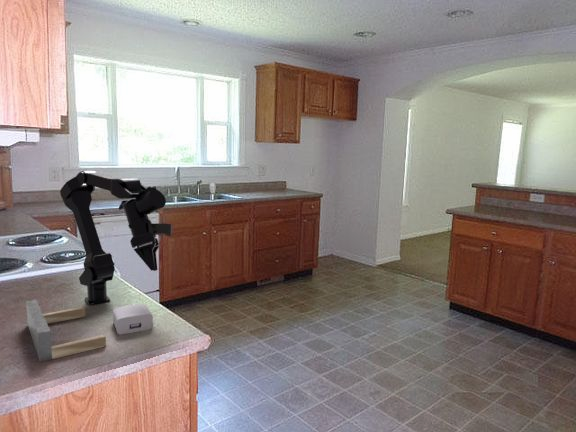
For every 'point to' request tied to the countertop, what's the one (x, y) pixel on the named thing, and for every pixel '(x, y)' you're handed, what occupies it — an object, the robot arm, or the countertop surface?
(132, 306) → the charger
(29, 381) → the countertop surface
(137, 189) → the robot arm
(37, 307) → the guarded bay
